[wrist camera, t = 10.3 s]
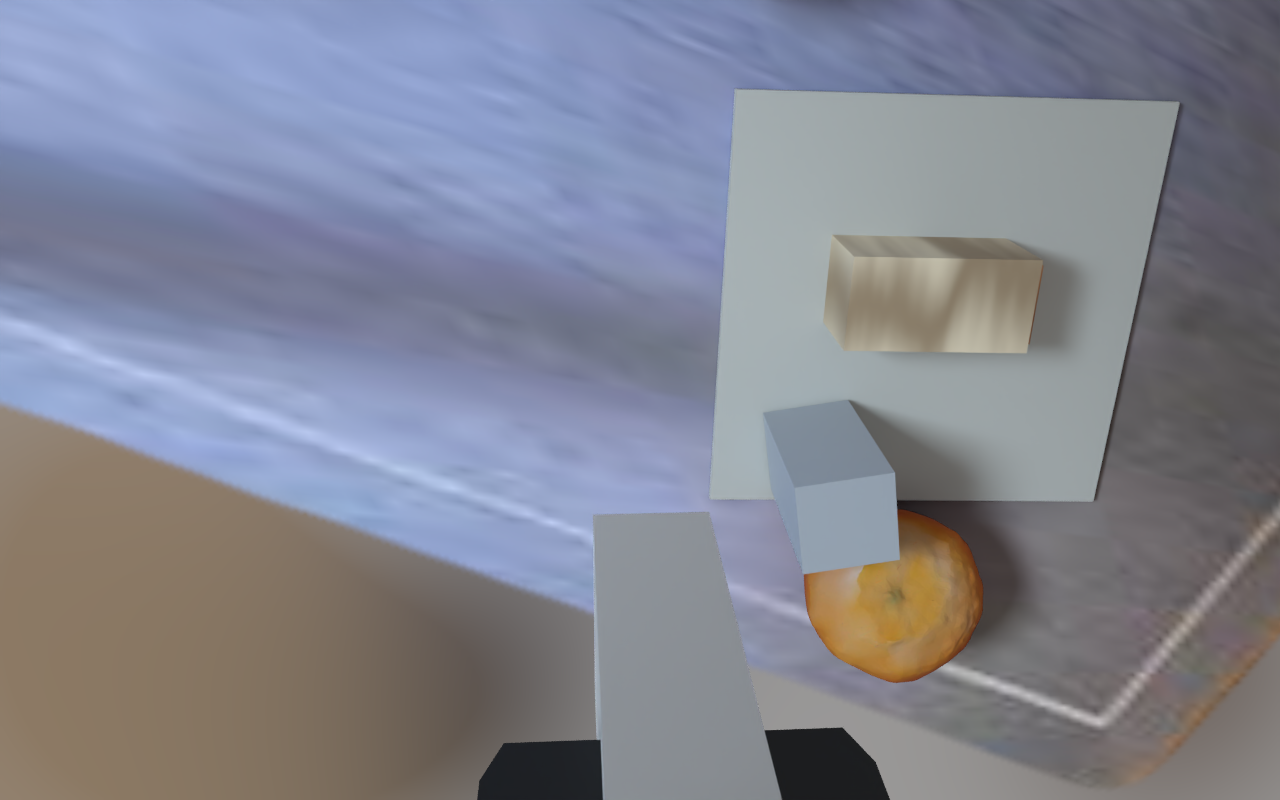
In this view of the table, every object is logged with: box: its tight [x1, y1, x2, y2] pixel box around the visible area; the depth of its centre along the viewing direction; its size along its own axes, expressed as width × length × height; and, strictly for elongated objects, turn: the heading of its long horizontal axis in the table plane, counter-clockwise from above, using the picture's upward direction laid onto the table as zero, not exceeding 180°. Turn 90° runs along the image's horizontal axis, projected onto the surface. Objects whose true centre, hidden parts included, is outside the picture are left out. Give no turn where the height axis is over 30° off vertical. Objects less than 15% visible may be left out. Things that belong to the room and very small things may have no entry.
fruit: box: [804, 509, 983, 683], centre depth 49 cm, size 8×8×8 cm
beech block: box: [823, 235, 1044, 353], centre depth 44 cm, size 4×4×8 cm
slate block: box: [763, 400, 900, 574], centre depth 45 cm, size 4×4×8 cm
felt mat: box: [709, 89, 1180, 501], centre depth 47 cm, size 19×19×1 cm
